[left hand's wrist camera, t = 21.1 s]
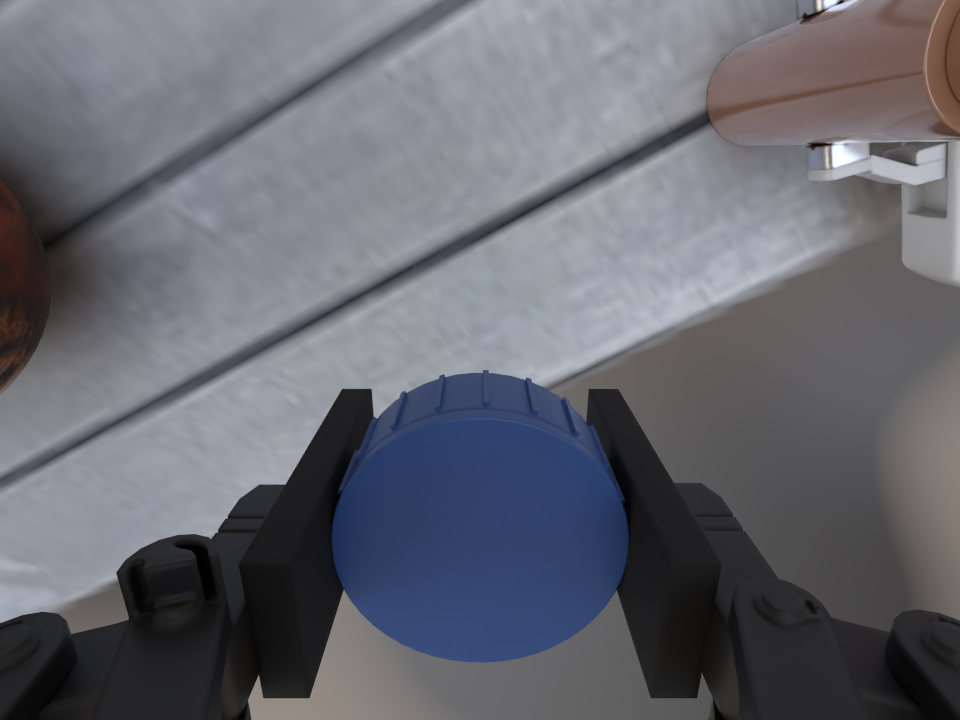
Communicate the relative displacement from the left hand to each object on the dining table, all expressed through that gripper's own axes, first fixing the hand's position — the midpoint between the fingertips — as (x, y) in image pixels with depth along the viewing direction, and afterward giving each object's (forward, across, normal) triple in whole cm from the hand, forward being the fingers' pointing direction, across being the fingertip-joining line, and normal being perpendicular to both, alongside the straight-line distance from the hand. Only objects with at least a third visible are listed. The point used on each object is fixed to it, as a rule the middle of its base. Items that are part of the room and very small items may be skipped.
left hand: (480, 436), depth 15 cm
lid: (-4, 0, 0) cm, 4 cm away
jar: (+19, +14, +10) cm, 25 cm away
